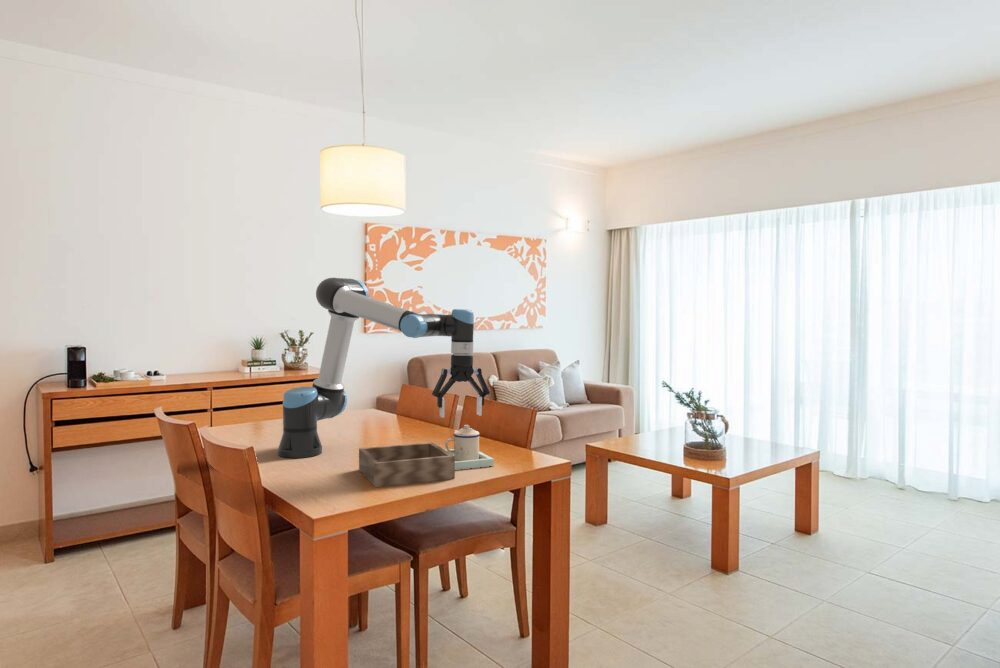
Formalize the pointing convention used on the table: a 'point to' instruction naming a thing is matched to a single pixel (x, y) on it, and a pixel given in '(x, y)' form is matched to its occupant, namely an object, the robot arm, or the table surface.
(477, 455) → the teacup with lid
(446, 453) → the deep box
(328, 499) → the table surface
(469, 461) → the tray
